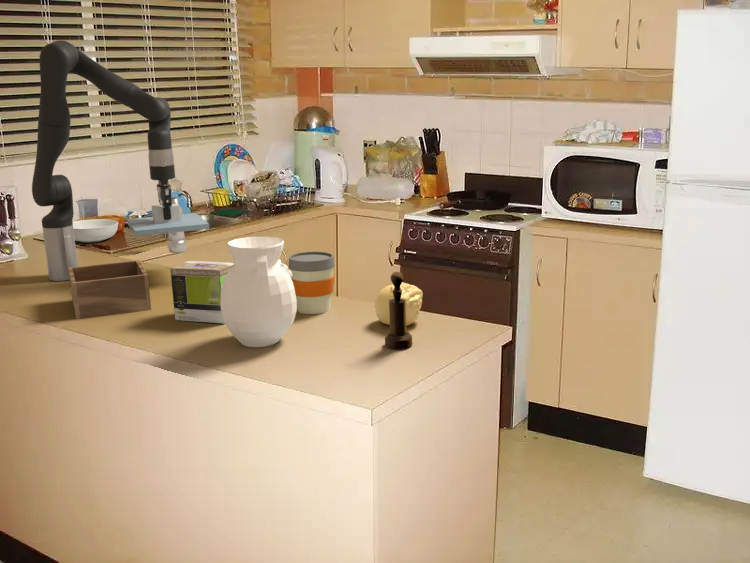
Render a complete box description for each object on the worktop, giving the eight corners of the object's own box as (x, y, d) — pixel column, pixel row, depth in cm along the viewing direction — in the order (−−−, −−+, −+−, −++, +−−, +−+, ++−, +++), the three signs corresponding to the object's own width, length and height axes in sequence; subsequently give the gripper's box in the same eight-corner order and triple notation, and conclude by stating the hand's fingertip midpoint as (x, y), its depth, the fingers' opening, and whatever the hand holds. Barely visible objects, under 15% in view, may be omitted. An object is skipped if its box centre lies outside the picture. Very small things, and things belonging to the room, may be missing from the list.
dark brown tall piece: (383, 341, 207) (381, 269, 202) (410, 340, 207) (409, 268, 203) (386, 350, 200) (384, 276, 196) (413, 349, 201) (412, 274, 196)
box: (72, 300, 250) (68, 267, 247) (142, 292, 257) (139, 260, 255) (76, 318, 232) (71, 283, 229) (151, 309, 239) (147, 274, 237)
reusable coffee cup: (305, 301, 243) (303, 249, 239) (344, 305, 237) (342, 253, 234) (282, 313, 232) (279, 259, 228) (322, 318, 227) (319, 263, 223)
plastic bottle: (183, 254, 306) (178, 199, 301) (165, 254, 307) (160, 199, 302) (190, 251, 312) (185, 196, 307) (173, 250, 313) (168, 196, 308)
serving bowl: (110, 245, 326) (108, 227, 324) (56, 246, 326) (53, 229, 325) (126, 234, 346) (124, 217, 344) (75, 235, 346) (73, 219, 345)
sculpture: (409, 332, 213) (408, 290, 210) (367, 326, 219) (366, 285, 216) (429, 320, 222) (428, 280, 220) (388, 314, 228) (388, 275, 225)
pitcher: (305, 348, 203) (300, 245, 197) (228, 357, 198) (220, 252, 192) (290, 325, 221) (285, 231, 214) (219, 333, 216) (211, 237, 209)
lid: (127, 224, 274) (125, 203, 273) (196, 217, 282) (194, 197, 280) (135, 236, 255) (133, 214, 253) (209, 228, 262) (207, 207, 261)
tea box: (241, 314, 232) (237, 261, 229) (223, 325, 223) (219, 270, 219) (193, 310, 237) (188, 258, 233) (173, 320, 228) (168, 267, 224)
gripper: (146, 162, 268) (151, 216, 273) (152, 166, 256) (157, 223, 260) (170, 160, 271) (175, 213, 275) (177, 165, 258) (182, 221, 263)
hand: (166, 218), depth 268 cm, fingers closed on lid, 4 cm apart
